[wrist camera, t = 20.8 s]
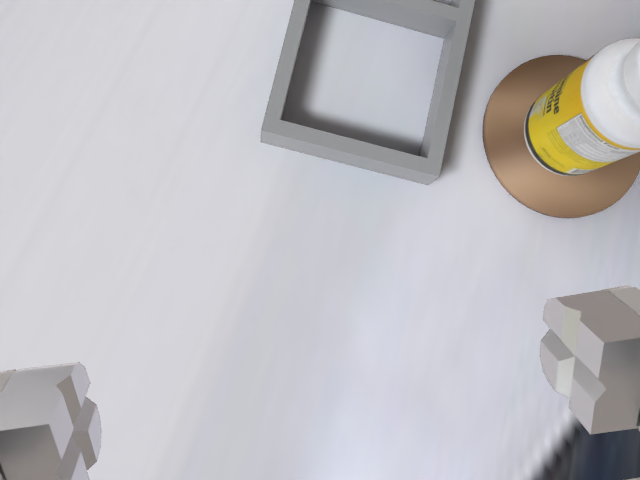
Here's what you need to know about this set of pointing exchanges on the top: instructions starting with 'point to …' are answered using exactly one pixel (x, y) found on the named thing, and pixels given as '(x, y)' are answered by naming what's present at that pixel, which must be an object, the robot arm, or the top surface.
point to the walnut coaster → (519, 165)
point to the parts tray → (453, 25)
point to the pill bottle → (589, 113)
